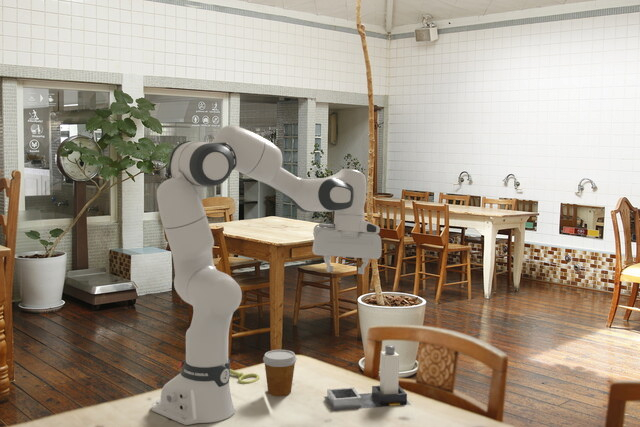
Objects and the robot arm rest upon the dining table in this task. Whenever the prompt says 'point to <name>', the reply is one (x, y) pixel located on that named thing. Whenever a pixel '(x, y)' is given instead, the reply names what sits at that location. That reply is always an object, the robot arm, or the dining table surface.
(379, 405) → the panel
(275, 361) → the disposable coffee cup
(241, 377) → the key
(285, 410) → the dining table surface
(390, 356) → the plug
